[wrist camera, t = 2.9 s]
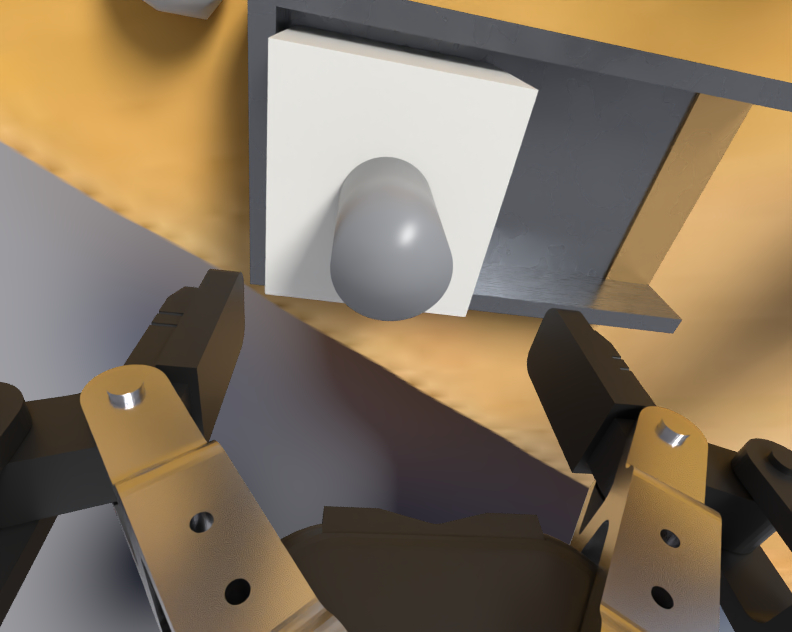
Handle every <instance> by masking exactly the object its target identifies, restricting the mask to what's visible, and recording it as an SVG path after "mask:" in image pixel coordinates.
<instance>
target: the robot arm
mask: <svg viewBox="0 0 792 632" xmlns="http://www.w3.org/2000/svg"><path fill="white" fill-rule="evenodd" d="M244 318H245V315H244V280H243V274H242V273H241V272H234V271H225V270H216V269H210V270H208V272H207V274H206V275H205V277H204V279H203V281H202V283H201V284H200V286H199V288H194V287H183V288H182V289H180V290H179V291H177V292H176V293H174V294H172V295H171V296H169V297H168V298H167V299H166V301H165V303H164V304H163V306H162V307H161V309H160V310H159V314H157V315H156V317H155V318H154V320H153V321H152V325H150V326H149V327H148V329H147V330H146V332H145V333H144V335H143V336H142V338H141V339H140V341H139V342H138V344H137V346H136V347H135V349H134V350H133V352H132V353H131V355H130V356H129V358H128V359H127V361H126V363H125V364H124V366H120V367H116V368H113V369H110V370H107V371H105V372H103V373H101V374H99V375H98V376H96V377H94V378H93V379H92V380H91V381H89V383H88V384H87V385H86V386H85V387H84V389H83V390H82V392H81V393H79V394H74V395H69V396H63V397H55V398H48V399H41V400H34V401H28V402H25V400H24V398H23V395H22V393H21V392H20V390H19V389H18V388H16V387H15V386H13V385H10V384H7V383H3V382H0V626H1V624H2V622H3V620H4V618H5V617H6V614H7V613H8V611H9V609H10V606H11V605H12V603H13V601H14V599H15V597H16V595H17V593H18V591H19V589H20V587H21V586H22V583H23V582H24V580H25V578H26V575H27V574H28V572H29V570H30V568H31V566H32V564H33V562H34V560H35V558H36V557H37V555H38V553H39V551H40V549H41V547H42V545H43V543H44V541H45V539H46V537H47V535H48V533H49V531H50V529H51V527H52V526H53V523H54V522H55V520H56V518H57V516H58V515H60V514H65V513H69V512H73V511H77V510H82V509H86V508H90V507H94V506H99V505H103V504H107V503H112V504H113V507H114V509H115V512H116V514H117V517H118V520H119V522H120V525H121V527H122V530H123V533H124V535H125V538H126V540H127V543H128V545H129V548H130V551H131V553H132V556H133V558H134V561H135V564H136V566H137V569H138V571H139V574H140V577H141V579H142V582H143V585H144V587H145V590H146V593H147V596H148V599H149V602H150V605H151V607H152V610H153V613H154V616H155V618H156V621H157V624H158V626H159V629H160V632H719V613H720V605H721V607H722V609H723V611H724V613H725V615H726V616H727V618H728V620H729V622H730V624H731V626H732V627H733V629H734V631H735V632H792V592H791V591H790V590H789V588H788V587H787V585H786V584H785V582H784V581H783V579H782V578H781V576H780V575H779V573H778V572H777V570H776V569H775V567H774V566H773V564H772V563H771V561H770V560H769V558H768V557H767V555H766V554H765V552H764V551H763V549H762V548H761V546H760V544H761V543H763V542H764V541H765V540H766V539H767V538H768V537H770V536H771V535H772V534H773V533H774V532H775V531H777V532H778V534H779V535H780V536H781V538H782V539H783V541H784V542H785V543H786V545H787V546H788V547H789V549H790V550H791V552H792V451H791V450H789V449H787V448H786V447H784V446H782V445H779V444H777V443H775V442H772V441H769V440H765V439H757V438H756V439H751V440H749V441H748V442H747V443H746V444H745V445H744V446H743V447H742V448H741V449H740V451H739V452H735V451H732V450H729V449H725V448H722V447H719V446H716V445H713V444H710V443H707V440H706V438H705V436H704V435H703V433H702V432H701V431H700V430H699V429H698V428H697V427H696V426H695V425H694V424H693V423H692V422H691V421H689V420H688V419H687V418H685V417H683V416H682V415H680V414H678V413H676V412H674V411H672V410H669V409H666V408H662V407H657V406H656V405H655V403H654V402H653V401H652V399H651V398H650V397H649V395H648V394H647V392H646V391H645V390H644V388H643V387H642V385H641V384H640V383H639V381H638V380H637V378H636V377H635V376H634V374H633V373H632V372H631V371H629V367H628V366H627V365H626V363H625V362H624V360H622V359H621V356H620V355H619V353H618V352H617V351H616V349H615V348H614V347H613V345H612V344H611V343H610V342H609V341H608V340H606V339H605V338H604V337H603V336H602V335H600V334H599V333H598V332H597V331H594V330H593V329H592V327H591V326H590V324H589V323H588V321H587V320H586V319H585V317H584V316H583V314H582V313H581V312H580V311H576V310H567V309H558V308H550V309H549V310H548V311H547V312H546V314H545V316H544V318H543V320H542V323H541V325H540V327H539V330H538V332H537V334H536V337H535V339H534V341H533V344H532V346H531V348H530V351H529V354H528V358H527V370H528V374H529V376H530V379H531V381H532V383H533V385H534V388H535V390H536V392H537V394H538V397H539V399H540V401H541V403H542V406H543V408H544V410H545V413H546V415H547V417H548V419H549V422H550V424H551V426H552V428H553V431H554V433H555V435H556V437H557V440H558V442H559V444H560V447H561V449H562V451H563V453H564V456H565V458H566V460H567V462H568V465H569V467H570V469H571V471H572V473H586V474H593V476H594V478H595V480H594V482H593V483H592V485H591V486H590V488H589V491H588V494H587V496H586V499H585V502H584V505H583V508H582V511H581V514H580V517H579V520H578V522H577V526H576V528H575V531H574V534H573V537H572V540H571V543H570V545H568V544H566V543H564V542H562V541H560V540H558V539H556V538H554V537H551V536H549V535H547V534H543V532H542V530H541V526H540V524H539V520H538V518H537V515H525V514H524V515H523V514H501V513H485V514H480V515H477V516H472V517H468V518H463V519H459V520H455V521H451V522H446V523H442V524H432V523H428V522H424V521H421V520H417V519H414V518H410V517H407V516H403V515H400V514H396V513H393V512H390V511H386V510H382V509H378V508H377V509H376V508H354V507H331V506H324V511H323V519H322V524H318V525H314V526H310V527H307V528H304V529H301V530H299V531H296V532H294V533H292V534H290V535H288V536H286V537H284V538H282V539H281V540H280V538H279V537H278V535H277V534H276V532H275V530H274V529H273V527H272V526H271V524H270V522H269V521H268V519H267V518H266V516H265V514H264V513H263V511H262V510H261V508H260V507H259V505H258V503H257V502H256V500H255V499H254V497H253V495H252V494H251V492H250V491H249V489H248V487H247V486H246V484H245V483H244V481H243V479H242V478H241V476H240V475H239V473H238V471H237V470H236V468H235V467H234V465H233V463H232V462H231V460H230V459H229V457H228V456H227V454H226V452H225V451H224V449H223V448H222V446H221V445H220V444H219V443H218V442H217V441H215V440H213V441H210V442H209V440H210V437H211V434H212V431H213V428H214V425H215V422H216V419H217V417H218V414H219V411H220V408H221V405H222V402H223V399H224V396H225V393H226V390H227V388H228V385H229V382H230V379H231V376H232V373H233V370H234V368H235V365H236V362H237V359H238V356H239V353H240V350H241V347H242V343H243V337H244V328H245V319H244Z"/></svg>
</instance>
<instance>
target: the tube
mask: <svg viewBox="0 0 792 632" xmlns="http://www.w3.org/2000/svg"><path fill="white" fill-rule="evenodd" d="M143 1H144V2H146V3H147V4H149V5H150V6H152V7H153V8H154V9H156V10H157V11H162V12H168V13H173V14H178V15H184V16H189V17H195V18H200V19H205V20H207V19H208V17H209V16H210V15H211V14H212V13H213V11H214V10H215V9H216V8H217V6H218V5H219V4H220V3H221V2H222V0H143Z"/></svg>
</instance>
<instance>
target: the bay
mask: <svg viewBox="0 0 792 632" xmlns="http://www.w3.org/2000/svg"><path fill="white" fill-rule="evenodd" d="M295 25H300V26H305V27H310V28H315V29H320V30H325V31H330V32H335V33H340V34H345V35H350V36H355V37H360V38H365V39H370V40H375V41H380V42H385V43H390V44H395V45H400V46H405V47H410V48H415V49H420V50H425V51H430V52H435V53H440V54H445V55H450V56H455V57H460V58H465V59H470V60H475V61H480V62H485V63H490V64H493V65H495V66H497V67H498V68H500V69H502V70H504V71H505V72H507V73H509V74H511V75H513V76H514V77H516V78H518V79H520V80H521V81H523V82H525V83H527V84H528V85H530V86H532V87H534V88H535V89H537V90H538V94H537V97H536V100H535V103H534V106H533V109H532V112H531V115H530V118H529V121H528V125H527V128H526V131H525V134H524V137H523V140H522V143H521V146H520V149H519V152H518V155H517V159H516V162H515V165H514V168H513V171H512V174H511V177H510V180H509V183H508V186H507V190H506V193H505V196H504V199H503V202H502V205H501V208H500V211H499V214H498V217H497V221H496V224H495V227H494V230H493V233H492V236H491V239H490V242H489V245H488V248H487V252H486V255H485V258H484V261H483V264H482V267H481V270H480V273H479V276H478V279H477V283H476V286H475V289H474V292H473V295H472V298H471V301H470V304H469V307H468V309H469V310H477V311H486V312H494V313H503V314H511V315H520V316H528V317H537V318H544V316H545V314H546V312H547V311H548V310H549V309H550V308H558V309H567V310H576V311H580V312H581V313H582V314H583V316H584V317H585V319H586V320H587V321H588V323H589V324H596V325H605V326H613V327H622V328H630V329H639V330H647V331H656V332H664V333H674V331H675V330H676V328H677V327H678V325H679V324H680V322H681V321H682V319H681V318H680V317H679V316H678V315H677V314H676V313H675V312H674V311H673V310H672V309H671V308H670V307H669V306H668V305H667V304H666V303H665V302H664V301H663V299H662V298H661V297H660V296H659V295H658V294H657V293H656V292H655V291H654V290H653V289H652V288H651V287H650V286H649V283H650V281H651V280H652V278H653V276H654V274H655V273H656V271H657V269H658V268H659V266H660V264H661V262H662V261H663V259H664V257H665V255H666V254H667V252H668V250H669V248H670V247H671V245H672V243H673V242H674V240H675V238H676V236H677V235H678V233H679V231H680V229H681V228H682V226H683V224H684V223H685V221H686V219H687V217H688V216H689V214H690V212H691V210H692V209H693V207H694V205H695V203H696V202H697V200H698V198H699V197H700V195H701V193H702V191H703V190H704V188H705V186H706V184H707V183H708V181H709V179H710V177H711V176H712V174H713V172H714V171H715V169H716V167H717V165H718V164H719V162H720V160H721V158H722V157H723V155H724V153H725V151H726V150H727V148H728V146H729V145H730V143H731V141H732V139H733V138H734V136H735V134H736V132H737V131H738V129H739V127H740V125H741V124H742V122H743V120H744V119H745V117H746V115H747V113H748V112H749V110H750V108H751V106H752V105H753V104H755V105H760V106H765V107H770V108H775V109H780V110H785V111H790V112H792V83H789V82H784V81H779V80H775V79H770V78H765V77H761V76H756V75H752V74H747V73H742V72H738V71H733V70H728V69H724V68H719V67H714V66H710V65H705V64H701V63H696V62H691V61H687V60H682V59H677V58H673V57H668V56H663V55H659V54H654V53H649V52H645V51H640V50H636V49H631V48H626V47H622V46H617V45H612V44H608V43H603V42H598V41H594V40H589V39H584V38H580V37H575V36H571V35H566V34H561V33H557V32H552V31H547V30H543V29H538V28H533V27H529V26H524V25H520V24H515V23H510V22H506V21H501V20H496V19H492V18H487V17H482V16H478V15H473V14H468V13H464V12H459V11H455V10H450V9H445V8H441V7H436V6H431V5H427V4H422V3H417V2H413V1H408V0H248V93H249V199H250V284H256V285H265V262H266V183H267V103H268V38H269V37H271V36H273V35H275V34H277V33H280V32H282V31H284V30H286V29H288V28H290V27H293V26H295Z"/></svg>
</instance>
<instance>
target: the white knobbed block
mask: <svg viewBox="0 0 792 632" xmlns="http://www.w3.org/2000/svg"><path fill="white" fill-rule="evenodd" d="M537 94H538V90H537V89H535V88H534V87H532V86H530V85H528V84H527V83H525V82H523V81H521V80H520V79H518V78H516V77H514V76H513V75H511V74H509V73H507V72H505V71H504V70H502V69H500V68H498V67H497V66H495V65H493V64H490V63H485V62H480V61H475V60H470V59H465V58H460V57H455V56H450V55H445V54H440V53H435V52H430V51H425V50H420V49H415V48H410V47H405V46H400V45H395V44H390V43H385V42H380V41H375V40H370V39H365V38H360V37H355V36H350V35H345V34H340V33H335V32H330V31H325V30H320V29H315V28H310V27H305V26H300V25H295V26H293V27H290V28H288V29H286V30H284V31H282V32H280V33H277V34H275V35H273V36H271V37H269V38H268V103H267V183H266V262H265V294H269V295H278V296H287V297H295V298H304V299H313V300H321V301H330V302H339V303H345V304H346V305H347V306H349V307H350V308H351V309H353V310H354V311H355V312H357V313H359V314H361V315H363V316H366V317H368V318H372V319H376V320H382V321H398V320H405V319H408V318H412V317H415V316H417V315H419V314H421V313H423V312H426V313H434V314H443V315H452V316H461V317H466V314H467V310H468V307H469V304H470V301H471V298H472V295H473V292H474V289H475V286H476V283H477V279H478V276H479V273H480V270H481V267H482V264H483V261H484V258H485V255H486V252H487V248H488V245H489V242H490V239H491V236H492V233H493V230H494V227H495V224H496V221H497V217H498V214H499V211H500V208H501V205H502V202H503V199H504V196H505V193H506V190H507V186H508V183H509V180H510V177H511V174H512V171H513V168H514V165H515V162H516V159H517V155H518V152H519V149H520V146H521V143H522V140H523V137H524V134H525V131H526V128H527V125H528V121H529V118H530V115H531V112H532V109H533V106H534V103H535V100H536V97H537Z"/></svg>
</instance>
